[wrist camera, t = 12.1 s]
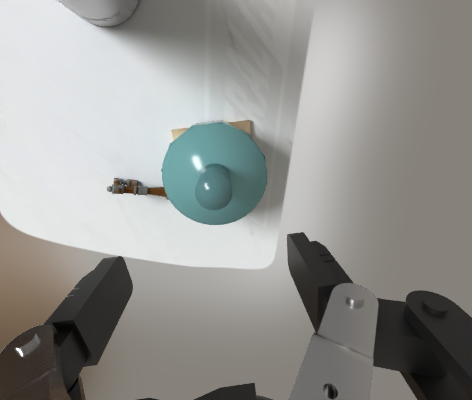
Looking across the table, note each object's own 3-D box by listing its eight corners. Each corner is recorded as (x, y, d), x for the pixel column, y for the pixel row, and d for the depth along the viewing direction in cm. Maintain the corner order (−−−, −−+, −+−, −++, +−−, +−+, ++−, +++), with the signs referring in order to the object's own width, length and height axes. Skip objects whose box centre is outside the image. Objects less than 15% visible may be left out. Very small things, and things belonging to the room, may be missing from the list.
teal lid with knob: (166, 126, 30) (131, 135, 18) (253, 115, 30) (273, 117, 18) (184, 206, 34) (164, 255, 22) (260, 196, 34) (280, 240, 23)
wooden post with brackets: (107, 173, 32) (107, 184, 28) (165, 178, 36) (171, 189, 32) (106, 185, 32) (106, 197, 29) (163, 189, 36) (170, 200, 33)
